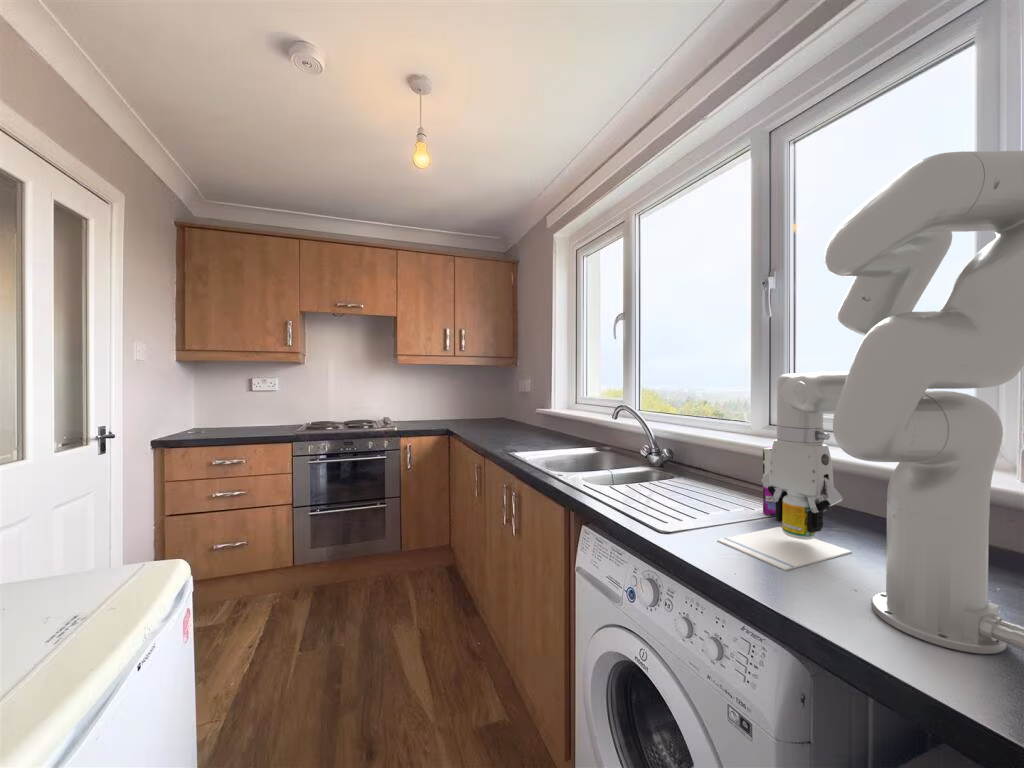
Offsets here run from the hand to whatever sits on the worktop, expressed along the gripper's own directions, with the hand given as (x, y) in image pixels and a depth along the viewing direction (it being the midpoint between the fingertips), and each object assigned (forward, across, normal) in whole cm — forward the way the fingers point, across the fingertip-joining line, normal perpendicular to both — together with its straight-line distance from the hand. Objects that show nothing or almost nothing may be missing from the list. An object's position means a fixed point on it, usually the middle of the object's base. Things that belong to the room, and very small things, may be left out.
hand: (798, 525), depth 81 cm
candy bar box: (+4, +12, -16) cm, 20 cm away
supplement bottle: (+2, 0, 0) cm, 2 cm away
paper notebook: (+4, +1, +4) cm, 5 cm away
